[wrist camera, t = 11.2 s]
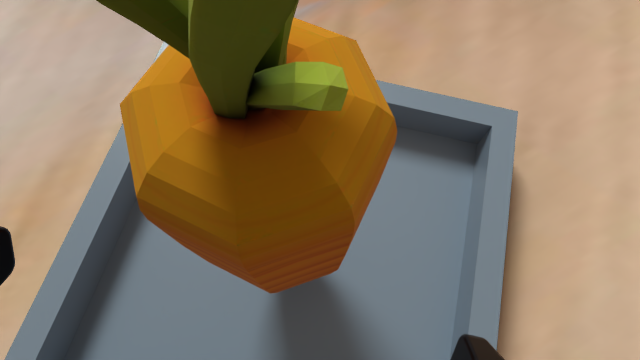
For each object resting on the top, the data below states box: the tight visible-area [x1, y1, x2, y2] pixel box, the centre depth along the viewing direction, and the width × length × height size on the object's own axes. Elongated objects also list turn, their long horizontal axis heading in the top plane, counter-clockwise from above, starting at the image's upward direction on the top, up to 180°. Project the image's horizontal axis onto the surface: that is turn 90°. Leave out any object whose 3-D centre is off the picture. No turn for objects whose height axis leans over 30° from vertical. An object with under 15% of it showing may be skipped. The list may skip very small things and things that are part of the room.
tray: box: [5, 42, 518, 360], centre depth 16 cm, size 16×16×2 cm
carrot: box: [97, 0, 397, 294], centre depth 10 cm, size 5×5×15 cm
